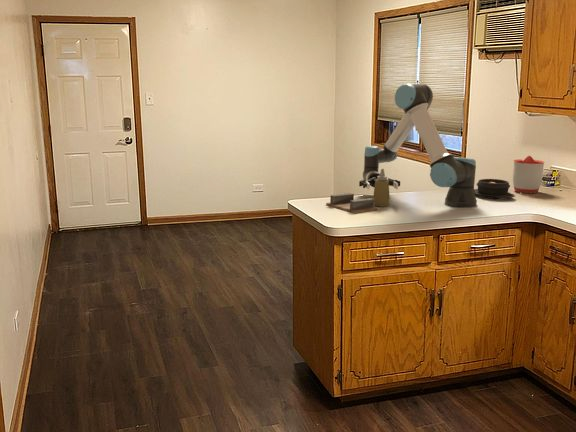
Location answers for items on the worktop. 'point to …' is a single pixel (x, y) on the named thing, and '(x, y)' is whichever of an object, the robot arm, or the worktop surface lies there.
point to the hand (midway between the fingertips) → (383, 186)
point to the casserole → (493, 188)
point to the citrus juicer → (527, 175)
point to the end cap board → (347, 208)
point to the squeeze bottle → (381, 190)
